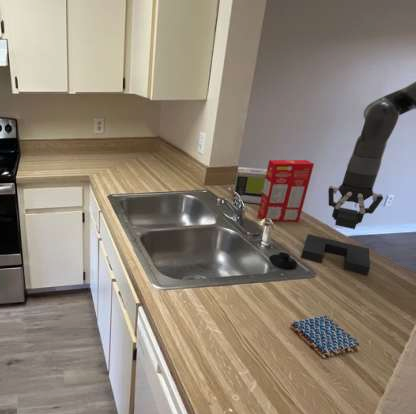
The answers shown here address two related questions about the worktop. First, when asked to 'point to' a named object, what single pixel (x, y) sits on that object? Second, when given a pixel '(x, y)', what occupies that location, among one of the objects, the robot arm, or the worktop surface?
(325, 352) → the woven mat
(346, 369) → the worktop surface
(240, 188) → the tea box
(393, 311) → the worktop surface
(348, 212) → the plug pad
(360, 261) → the socket pad
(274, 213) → the food packaging
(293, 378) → the worktop surface
